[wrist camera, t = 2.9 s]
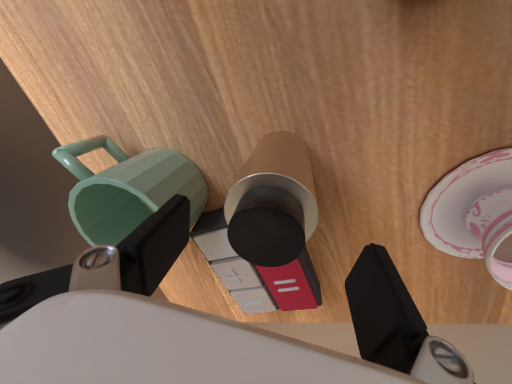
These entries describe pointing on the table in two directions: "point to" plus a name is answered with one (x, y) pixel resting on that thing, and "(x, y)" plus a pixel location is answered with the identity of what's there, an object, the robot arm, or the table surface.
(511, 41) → the table surface
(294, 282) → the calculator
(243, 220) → the flask
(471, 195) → the teacup
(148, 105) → the table surface
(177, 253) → the robot arm
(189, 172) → the mug
